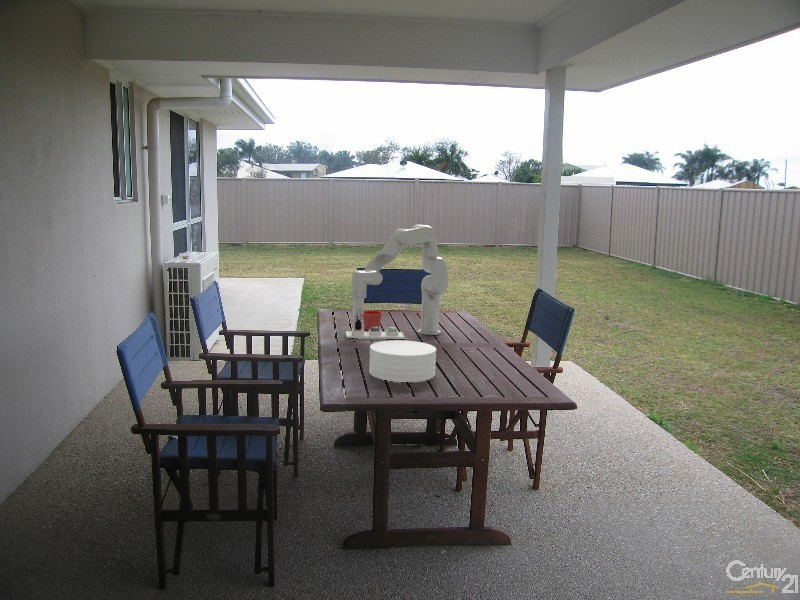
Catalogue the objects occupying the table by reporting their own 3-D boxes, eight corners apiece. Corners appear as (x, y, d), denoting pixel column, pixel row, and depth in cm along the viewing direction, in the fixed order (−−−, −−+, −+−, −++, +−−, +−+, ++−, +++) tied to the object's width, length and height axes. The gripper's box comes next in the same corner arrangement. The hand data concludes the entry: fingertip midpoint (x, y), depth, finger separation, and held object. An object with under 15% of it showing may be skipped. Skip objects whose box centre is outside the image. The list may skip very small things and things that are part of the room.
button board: (345, 334, 371) (345, 327, 370) (401, 334, 374) (401, 328, 374) (346, 339, 359) (346, 332, 358) (404, 339, 363) (404, 333, 362)
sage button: (387, 330, 369) (387, 326, 369) (395, 330, 370) (395, 326, 369) (388, 332, 365) (388, 328, 365) (396, 332, 365) (396, 328, 365)
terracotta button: (353, 332, 367) (353, 328, 367) (361, 332, 368) (361, 328, 367) (353, 334, 363) (353, 330, 362) (362, 334, 363) (362, 330, 363)
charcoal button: (370, 330, 368) (370, 326, 368) (378, 330, 369) (378, 326, 368) (371, 332, 364) (371, 328, 363) (379, 332, 364) (379, 328, 364)
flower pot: (358, 330, 382) (359, 312, 380) (366, 326, 392) (366, 309, 390) (377, 332, 378) (377, 314, 377) (383, 328, 389) (384, 311, 387)
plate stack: (376, 363, 313) (377, 338, 311) (438, 368, 308) (439, 343, 306) (362, 379, 286) (363, 352, 284) (430, 385, 281) (431, 357, 279)
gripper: (350, 292, 369) (350, 326, 372) (352, 296, 354) (351, 332, 357) (365, 292, 370) (364, 326, 373) (367, 296, 355) (366, 332, 358)
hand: (358, 329), depth 365 cm, fingers closed
